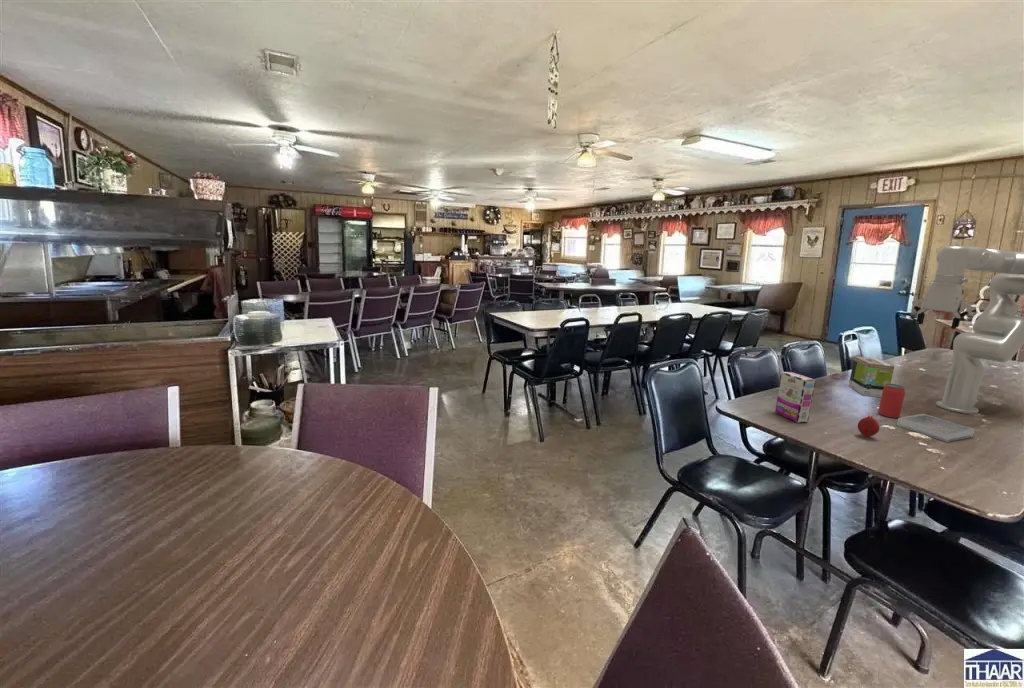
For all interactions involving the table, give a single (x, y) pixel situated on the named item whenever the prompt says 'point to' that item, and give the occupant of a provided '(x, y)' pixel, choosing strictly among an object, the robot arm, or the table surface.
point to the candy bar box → (795, 396)
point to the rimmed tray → (935, 427)
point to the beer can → (892, 400)
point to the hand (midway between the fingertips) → (936, 326)
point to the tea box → (870, 376)
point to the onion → (868, 426)
